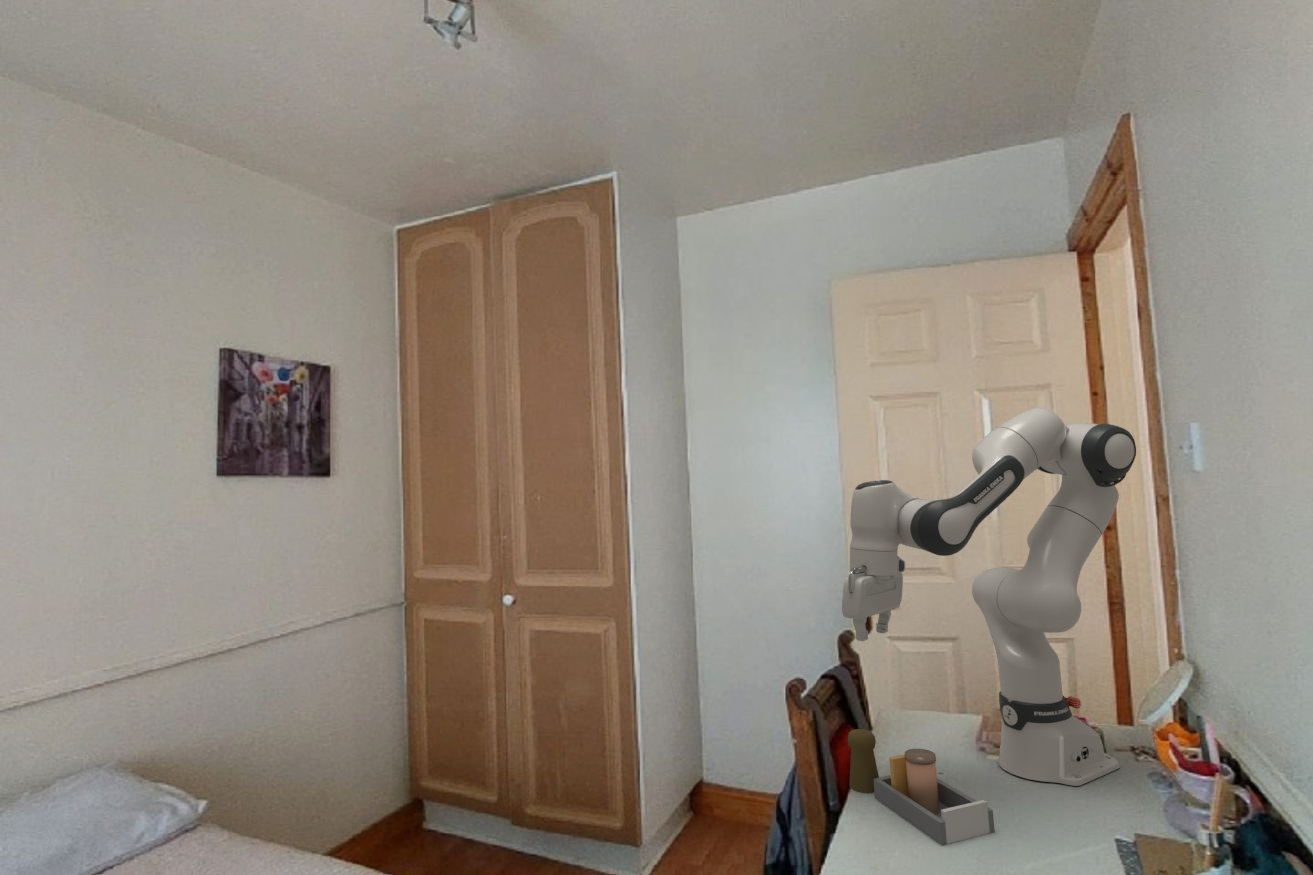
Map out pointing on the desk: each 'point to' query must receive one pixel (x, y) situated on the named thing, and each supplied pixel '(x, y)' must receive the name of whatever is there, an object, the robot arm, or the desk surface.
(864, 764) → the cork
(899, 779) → the block
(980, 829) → the gray open box
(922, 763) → the terracotta jar
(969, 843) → the desk surface
